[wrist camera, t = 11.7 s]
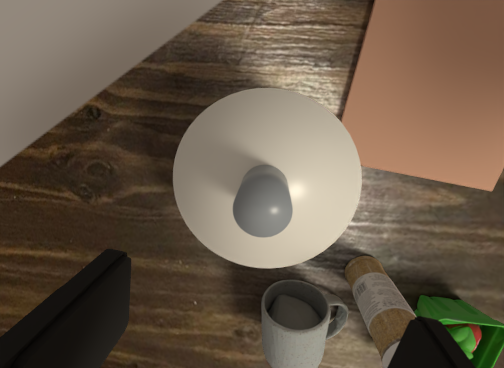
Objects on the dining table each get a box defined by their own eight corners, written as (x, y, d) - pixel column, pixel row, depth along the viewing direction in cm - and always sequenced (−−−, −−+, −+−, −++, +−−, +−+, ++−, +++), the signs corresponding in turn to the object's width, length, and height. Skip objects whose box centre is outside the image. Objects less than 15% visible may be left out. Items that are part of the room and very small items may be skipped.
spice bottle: (364, 292, 32) (426, 416, 19) (335, 273, 32) (378, 388, 19) (390, 266, 31) (475, 382, 18) (360, 246, 30) (425, 351, 17)
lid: (385, 108, 20) (427, 110, 15) (329, 277, 25) (346, 327, 19) (185, 71, 20) (152, 58, 15) (169, 245, 25) (140, 284, 20)
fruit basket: (446, 362, 34) (526, 480, 24) (379, 353, 35) (427, 464, 24) (476, 292, 31) (585, 392, 20) (401, 283, 31) (469, 376, 21)
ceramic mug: (262, 328, 35) (261, 387, 28) (262, 277, 33) (260, 327, 25) (341, 331, 34) (362, 392, 27) (347, 279, 32) (371, 331, 25)
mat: (578, 5, 22) (585, 3, 22) (488, 189, 27) (492, 191, 27) (382, -30, 22) (385, -33, 22) (329, 158, 28) (330, 159, 27)
